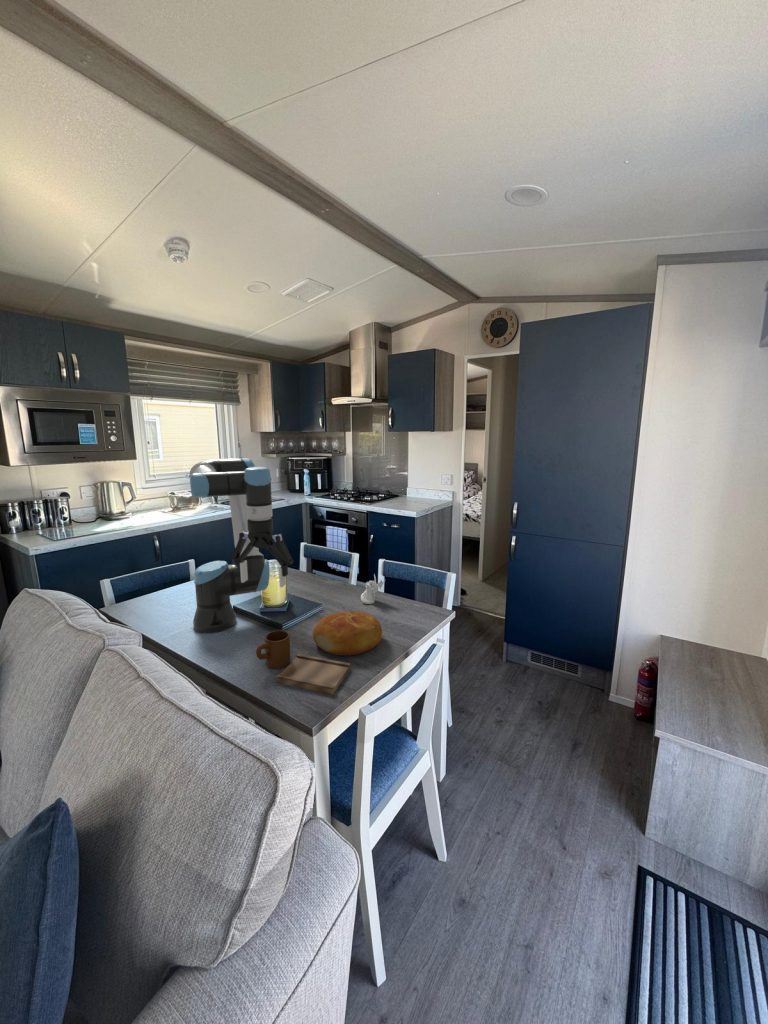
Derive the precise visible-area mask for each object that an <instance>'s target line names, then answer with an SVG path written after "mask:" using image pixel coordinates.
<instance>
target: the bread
mask: <svg viewBox="0 0 768 1024" xmlns="http://www.w3.org/2000/svg"><path fill="white" fill-rule="evenodd" d="M382 637H383V629H382V626H381V624H380V622H379V620H378V619H377V618H376V617H375V616H374V615H371V614H370V613H367V612H364V611H363V612H362V611H356V610H355V611H354V610H352V611H338V612H334V613H331V614H328V615H325V616H324V617H322V618H321V619H320V620H318V622H317V623H316V625H315V626H314V628H313V631H312V638H313V641H314V643H315V644H316V645H317V646H318V648H320V649H321V650H322V651H325V652H327V653H329V654H332V655H336V656H356V655H360V654H363V653H366V652H368V651H371V650H372V649H374V648H375V647H376V646H377V645H378V644H379V643H380V642H381V641H382Z"/></svg>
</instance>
